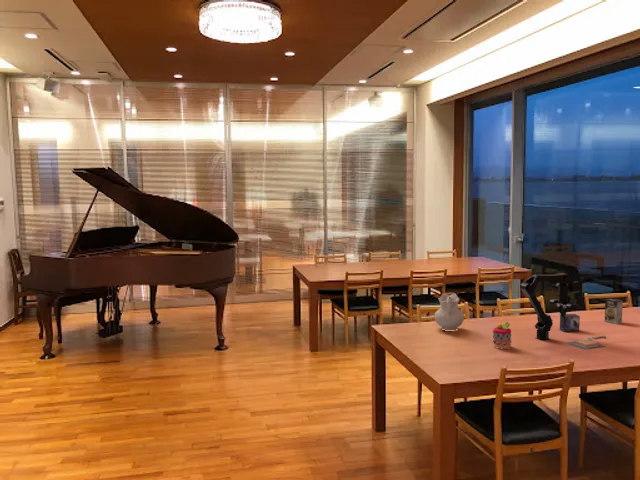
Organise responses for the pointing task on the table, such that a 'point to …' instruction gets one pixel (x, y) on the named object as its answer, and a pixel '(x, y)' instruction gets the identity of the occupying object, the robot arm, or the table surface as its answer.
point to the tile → (586, 343)
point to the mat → (584, 347)
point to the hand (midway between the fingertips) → (563, 317)
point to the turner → (594, 338)
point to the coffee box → (613, 311)
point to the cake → (502, 336)
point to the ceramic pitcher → (449, 312)
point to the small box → (569, 323)
